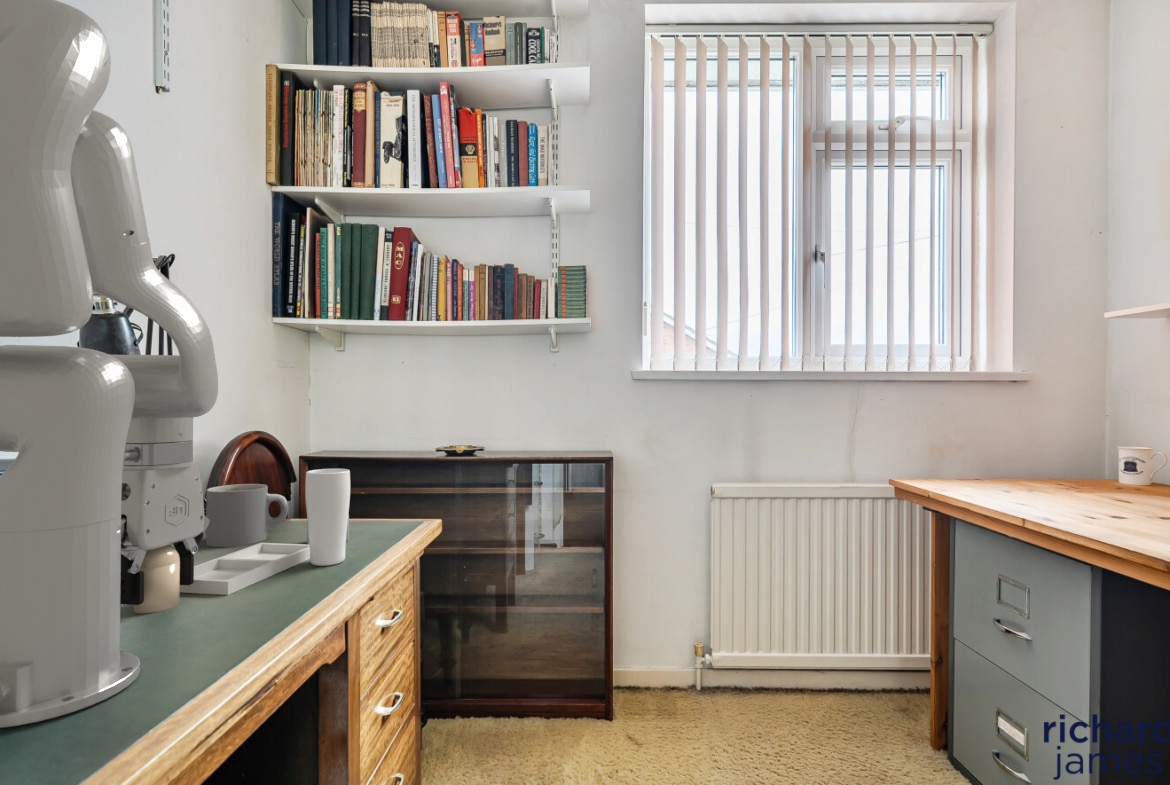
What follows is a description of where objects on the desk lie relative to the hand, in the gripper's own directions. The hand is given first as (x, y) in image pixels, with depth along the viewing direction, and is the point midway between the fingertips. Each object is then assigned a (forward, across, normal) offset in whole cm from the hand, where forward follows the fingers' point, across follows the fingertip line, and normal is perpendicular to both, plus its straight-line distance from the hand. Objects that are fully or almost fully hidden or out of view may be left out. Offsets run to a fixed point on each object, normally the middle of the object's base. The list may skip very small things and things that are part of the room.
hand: (157, 592), depth 76 cm
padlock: (+2, +35, -2) cm, 35 cm away
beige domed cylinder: (+2, 0, 0) cm, 2 cm away
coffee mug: (+2, +34, +14) cm, 37 cm away
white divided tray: (+2, +16, 0) cm, 16 cm away
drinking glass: (+2, +22, -10) cm, 24 cm away
